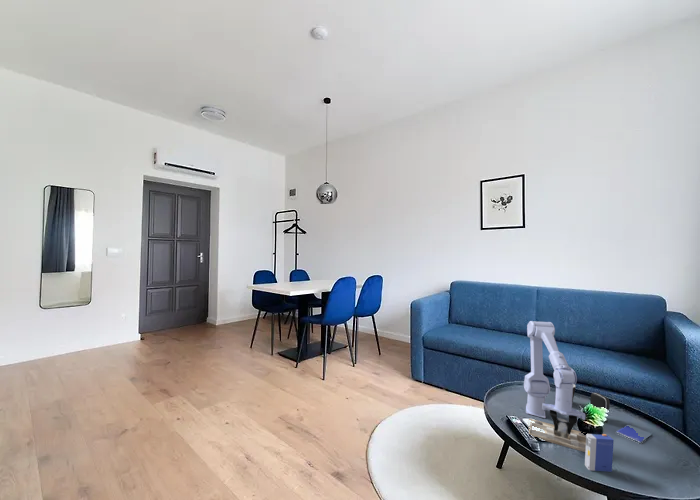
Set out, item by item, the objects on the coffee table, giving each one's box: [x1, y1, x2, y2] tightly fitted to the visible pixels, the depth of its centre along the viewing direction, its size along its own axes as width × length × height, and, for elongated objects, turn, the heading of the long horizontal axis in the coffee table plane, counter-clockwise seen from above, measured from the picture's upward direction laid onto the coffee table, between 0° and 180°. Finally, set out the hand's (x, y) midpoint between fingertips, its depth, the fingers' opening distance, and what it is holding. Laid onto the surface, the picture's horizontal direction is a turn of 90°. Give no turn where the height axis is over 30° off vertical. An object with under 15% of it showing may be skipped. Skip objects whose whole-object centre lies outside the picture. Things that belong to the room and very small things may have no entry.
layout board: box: [528, 417, 586, 453], centre depth 134 cm, size 14×24×4 cm, turn 61°
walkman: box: [584, 433, 615, 473], centre depth 115 cm, size 8×3×12 cm, turn 86°
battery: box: [589, 392, 611, 423], centre depth 149 cm, size 7×4×11 cm, turn 13°
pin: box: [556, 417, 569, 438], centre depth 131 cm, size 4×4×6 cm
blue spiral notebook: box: [615, 425, 644, 443], centre depth 138 cm, size 2×8×12 cm
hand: (562, 431), depth 131 cm, fingers closed on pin, 4 cm apart
